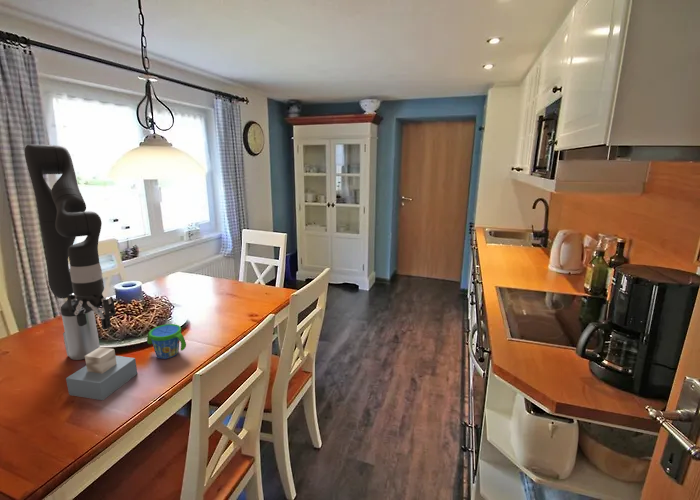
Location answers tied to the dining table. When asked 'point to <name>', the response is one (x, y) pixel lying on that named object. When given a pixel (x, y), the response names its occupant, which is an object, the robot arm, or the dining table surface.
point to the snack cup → (166, 340)
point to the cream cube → (100, 360)
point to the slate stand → (101, 379)
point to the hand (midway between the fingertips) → (94, 326)
